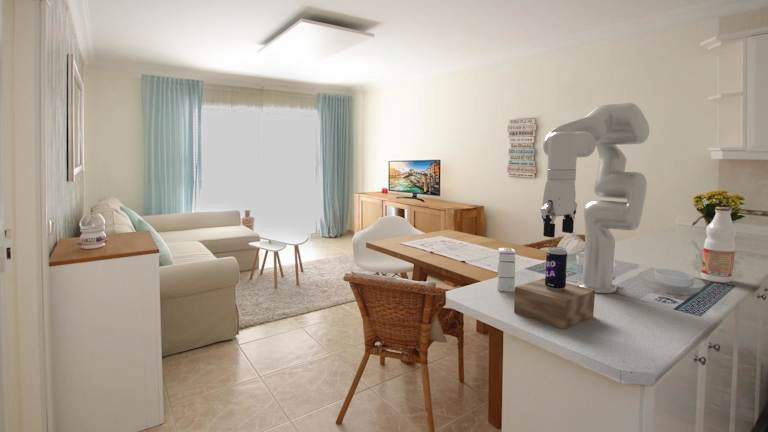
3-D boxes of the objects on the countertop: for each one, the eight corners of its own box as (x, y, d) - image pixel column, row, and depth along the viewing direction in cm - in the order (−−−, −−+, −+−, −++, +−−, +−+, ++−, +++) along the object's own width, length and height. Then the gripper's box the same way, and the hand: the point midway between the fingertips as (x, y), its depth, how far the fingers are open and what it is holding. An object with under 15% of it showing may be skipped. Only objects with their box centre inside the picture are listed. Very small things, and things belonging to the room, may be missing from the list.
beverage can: (547, 284, 129) (549, 245, 127) (567, 287, 125) (569, 248, 124) (542, 288, 124) (544, 249, 122) (562, 292, 121) (565, 251, 119)
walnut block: (544, 301, 137) (545, 277, 136) (593, 316, 124) (595, 290, 123) (514, 312, 127) (515, 286, 126) (563, 329, 114) (565, 301, 113)
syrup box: (514, 292, 147) (516, 251, 145) (497, 291, 148) (498, 250, 146) (513, 287, 152) (514, 247, 150) (496, 286, 153) (497, 247, 151)
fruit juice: (717, 283, 156) (726, 209, 153) (694, 277, 166) (701, 206, 162) (738, 282, 158) (746, 208, 155) (713, 275, 168) (721, 205, 164)
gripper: (565, 174, 128) (562, 229, 131) (531, 176, 118) (529, 236, 120) (589, 175, 122) (586, 232, 125) (556, 177, 112) (553, 240, 115)
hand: (558, 234), depth 123 cm, fingers open, 9 cm apart
